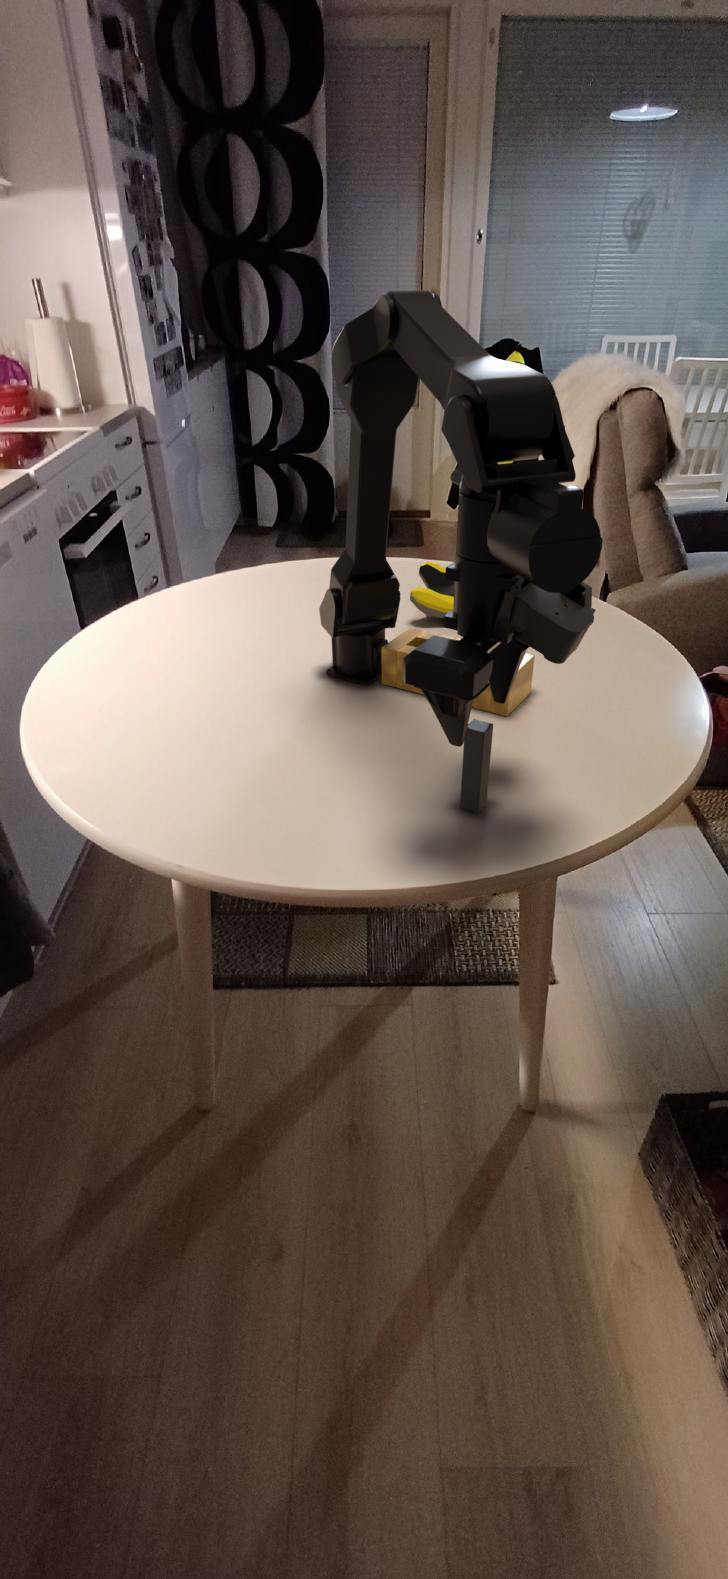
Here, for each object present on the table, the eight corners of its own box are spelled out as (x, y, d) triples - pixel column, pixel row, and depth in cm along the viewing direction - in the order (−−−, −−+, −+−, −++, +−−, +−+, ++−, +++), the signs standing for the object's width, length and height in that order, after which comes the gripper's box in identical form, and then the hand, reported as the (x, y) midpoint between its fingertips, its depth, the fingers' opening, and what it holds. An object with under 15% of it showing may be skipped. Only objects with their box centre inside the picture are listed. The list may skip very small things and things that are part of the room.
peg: (459, 807, 76) (464, 727, 70) (468, 797, 77) (473, 718, 72) (478, 814, 75) (484, 732, 70) (486, 803, 76) (493, 723, 71)
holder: (381, 683, 98) (381, 647, 95) (409, 663, 103) (409, 627, 100) (507, 716, 91) (510, 677, 88) (530, 692, 96) (535, 655, 93)
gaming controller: (407, 627, 113) (476, 631, 112) (408, 591, 110) (478, 594, 109) (419, 592, 126) (481, 594, 124) (420, 558, 123) (484, 560, 121)
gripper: (544, 607, 52) (521, 798, 61) (627, 536, 65) (598, 702, 74) (400, 580, 57) (398, 760, 66) (503, 519, 70) (490, 676, 79)
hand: (479, 722), depth 71 cm, fingers open, 9 cm apart
